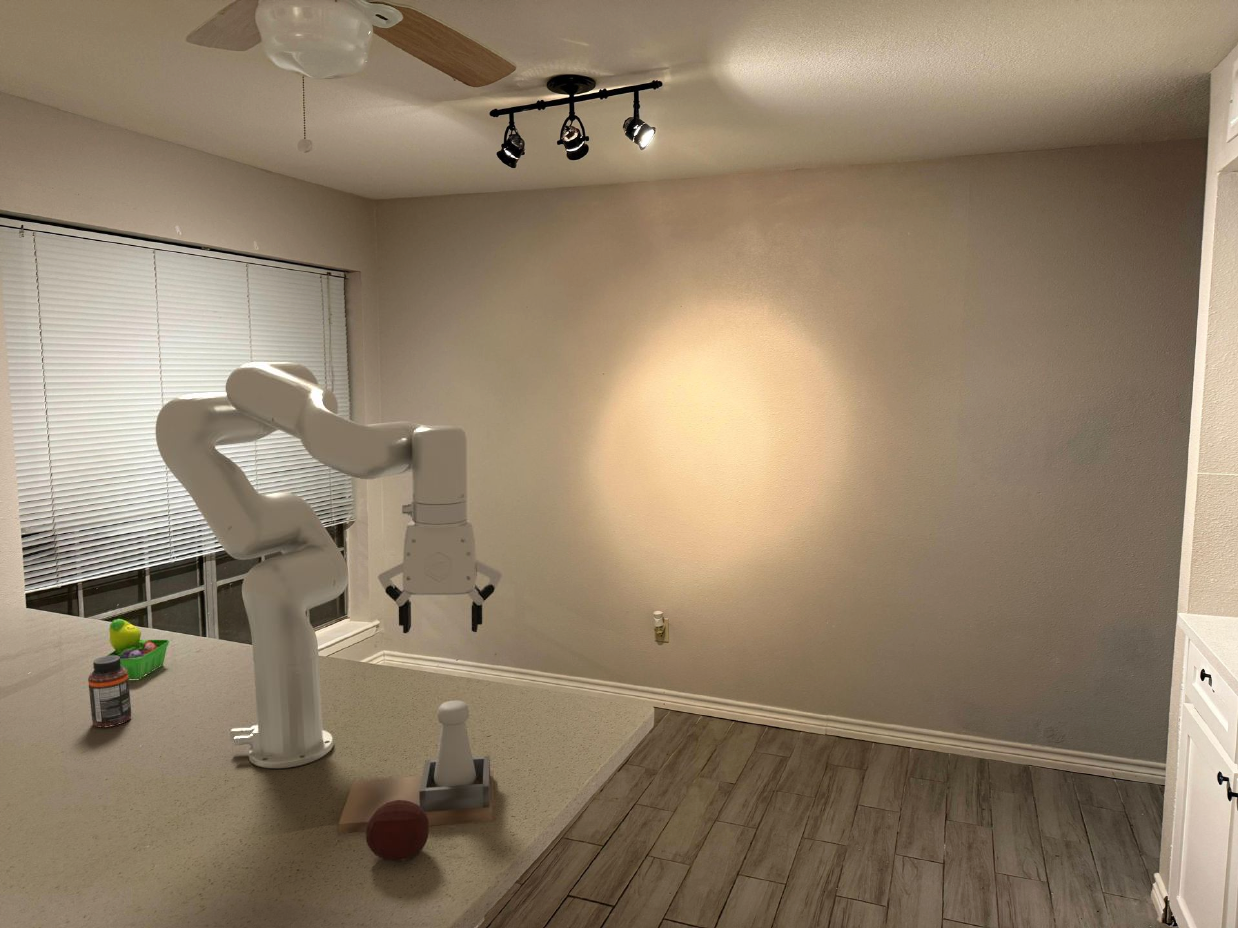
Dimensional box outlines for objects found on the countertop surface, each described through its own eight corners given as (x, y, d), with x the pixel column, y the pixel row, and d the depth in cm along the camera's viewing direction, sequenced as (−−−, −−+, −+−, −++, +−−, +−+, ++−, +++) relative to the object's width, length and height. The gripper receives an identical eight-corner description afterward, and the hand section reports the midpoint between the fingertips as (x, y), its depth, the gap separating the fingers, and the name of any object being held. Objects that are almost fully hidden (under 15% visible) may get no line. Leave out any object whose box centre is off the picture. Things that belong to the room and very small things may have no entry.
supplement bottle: (97, 717, 151) (91, 655, 150) (135, 712, 153) (130, 651, 152) (87, 730, 146) (82, 666, 144) (127, 725, 148) (122, 662, 146)
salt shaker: (467, 804, 117) (464, 713, 116) (428, 801, 119) (424, 710, 117) (482, 784, 123) (479, 697, 122) (444, 781, 124) (441, 694, 123)
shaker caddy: (338, 832, 113) (337, 802, 113) (354, 788, 125) (352, 760, 124) (492, 820, 116) (491, 790, 115) (493, 778, 127) (492, 751, 127)
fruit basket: (141, 683, 168) (137, 627, 166) (96, 683, 168) (92, 627, 166) (172, 663, 179) (168, 610, 178) (130, 663, 179) (126, 610, 178)
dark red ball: (425, 871, 104) (423, 816, 103) (360, 875, 104) (357, 819, 103) (434, 838, 112) (432, 786, 111) (373, 841, 111) (370, 789, 110)
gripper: (372, 518, 117) (375, 639, 120) (500, 517, 119) (500, 637, 121) (382, 508, 125) (384, 622, 127) (502, 508, 127) (502, 620, 129)
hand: (441, 629), depth 124 cm, fingers open, 9 cm apart
